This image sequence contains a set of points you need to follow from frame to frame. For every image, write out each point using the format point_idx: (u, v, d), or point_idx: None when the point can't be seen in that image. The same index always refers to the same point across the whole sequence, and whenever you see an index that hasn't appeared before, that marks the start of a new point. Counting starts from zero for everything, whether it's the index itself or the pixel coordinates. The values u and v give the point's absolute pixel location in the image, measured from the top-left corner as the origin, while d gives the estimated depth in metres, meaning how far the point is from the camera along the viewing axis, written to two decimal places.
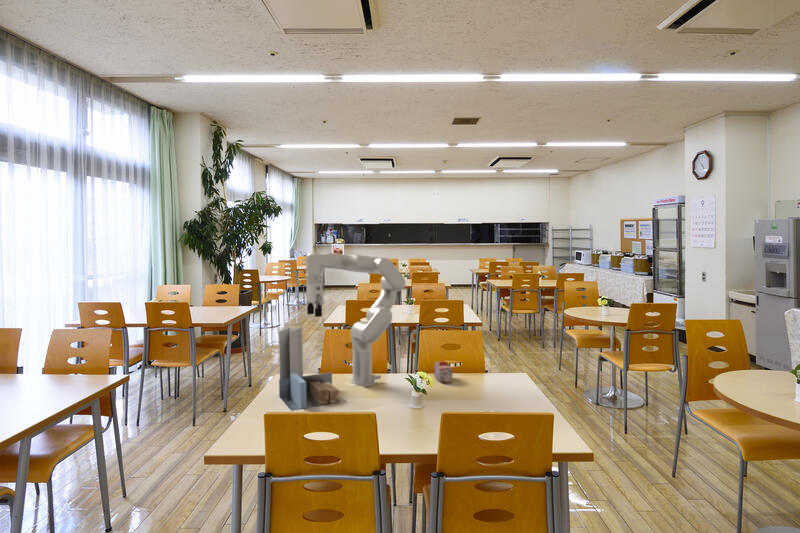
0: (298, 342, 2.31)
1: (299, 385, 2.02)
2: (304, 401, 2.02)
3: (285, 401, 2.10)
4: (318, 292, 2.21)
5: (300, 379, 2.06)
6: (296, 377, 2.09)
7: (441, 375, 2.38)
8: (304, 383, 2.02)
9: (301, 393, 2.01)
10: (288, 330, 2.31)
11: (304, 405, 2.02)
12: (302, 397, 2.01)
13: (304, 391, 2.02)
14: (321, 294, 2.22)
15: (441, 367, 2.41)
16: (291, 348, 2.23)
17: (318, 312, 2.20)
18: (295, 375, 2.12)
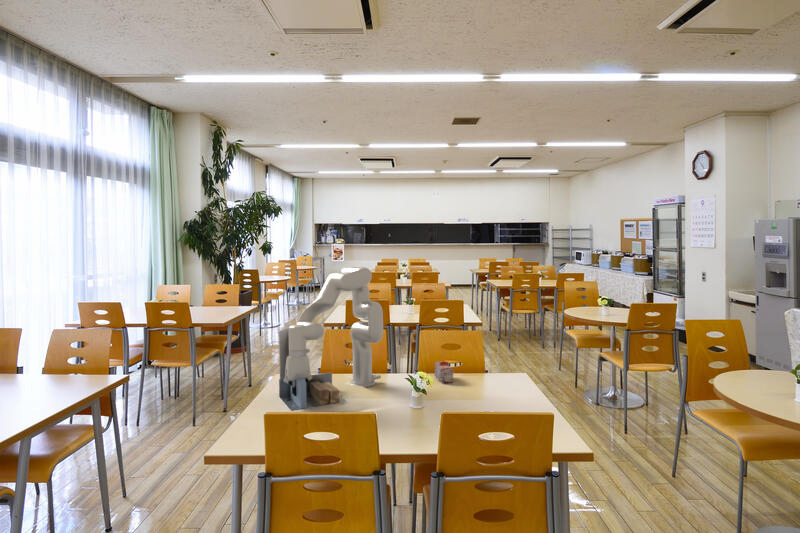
0: None
1: (299, 385, 2.02)
2: (304, 401, 2.02)
3: (285, 401, 2.10)
4: None
5: (300, 379, 2.06)
6: None
7: (442, 375, 2.39)
8: (304, 383, 2.01)
9: (301, 393, 2.01)
10: (288, 330, 2.31)
11: (304, 405, 2.02)
12: (302, 397, 2.01)
13: (304, 391, 2.02)
14: None
15: (442, 367, 2.41)
16: None
17: None
18: None
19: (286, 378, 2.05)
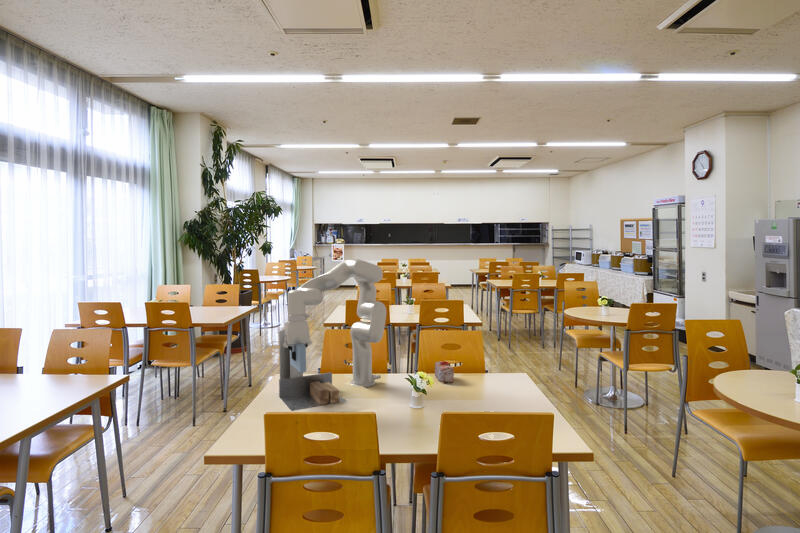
0: None
1: (299, 349, 2.01)
2: (303, 365, 2.01)
3: (285, 401, 2.10)
4: None
5: (300, 344, 2.05)
6: None
7: (443, 375, 2.39)
8: (304, 347, 2.01)
9: (301, 357, 2.00)
10: None
11: (304, 369, 2.01)
12: (302, 361, 2.01)
13: (304, 355, 2.01)
14: None
15: (442, 367, 2.41)
16: None
17: None
18: None
19: (286, 343, 2.05)
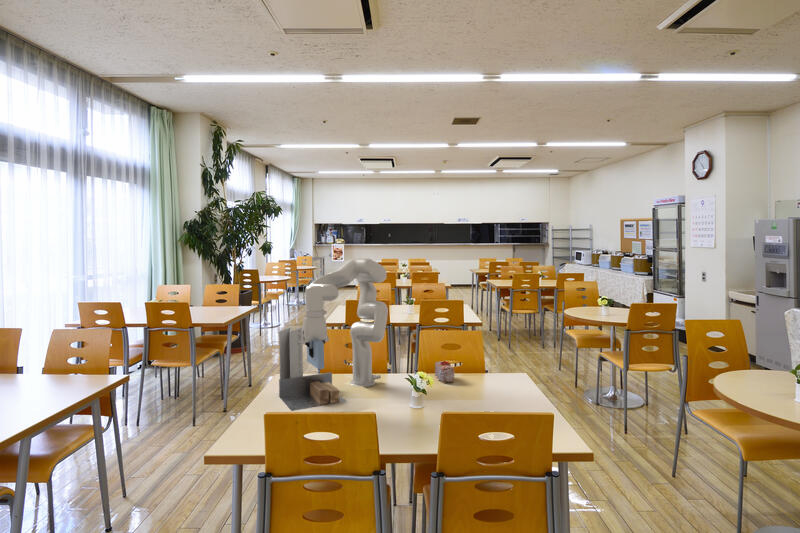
0: (298, 342, 2.31)
1: (317, 346, 1.99)
2: (321, 362, 1.99)
3: (285, 401, 2.10)
4: None
5: (317, 340, 2.02)
6: None
7: (443, 375, 2.39)
8: (322, 343, 1.98)
9: (319, 354, 1.98)
10: (288, 330, 2.31)
11: (322, 366, 1.99)
12: (320, 358, 1.98)
13: (322, 352, 1.98)
14: None
15: (443, 367, 2.42)
16: (291, 348, 2.23)
17: None
18: None
19: (303, 339, 2.02)
